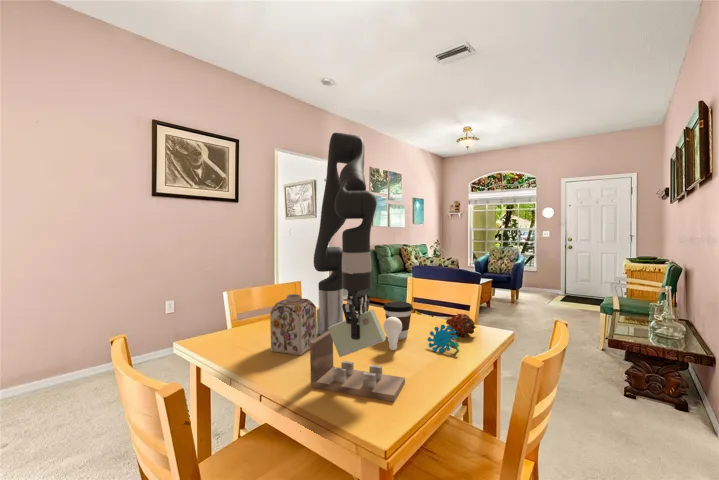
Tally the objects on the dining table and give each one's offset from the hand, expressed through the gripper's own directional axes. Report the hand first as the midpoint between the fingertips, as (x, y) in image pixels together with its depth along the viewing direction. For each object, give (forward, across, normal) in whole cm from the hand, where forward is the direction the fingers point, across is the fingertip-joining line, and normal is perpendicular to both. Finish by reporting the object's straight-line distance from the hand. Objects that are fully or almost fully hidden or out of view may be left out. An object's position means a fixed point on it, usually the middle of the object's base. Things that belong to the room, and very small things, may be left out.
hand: (357, 337), depth 87 cm
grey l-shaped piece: (+12, 0, 0) cm, 12 cm away
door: (+3, 0, +1) cm, 3 cm away
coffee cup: (+13, -41, 0) cm, 43 cm away
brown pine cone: (+13, -51, +20) cm, 56 cm away
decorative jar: (+13, -18, -30) cm, 38 cm away
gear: (+13, -33, +17) cm, 39 cm away
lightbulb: (+13, -27, +2) cm, 30 cm away
